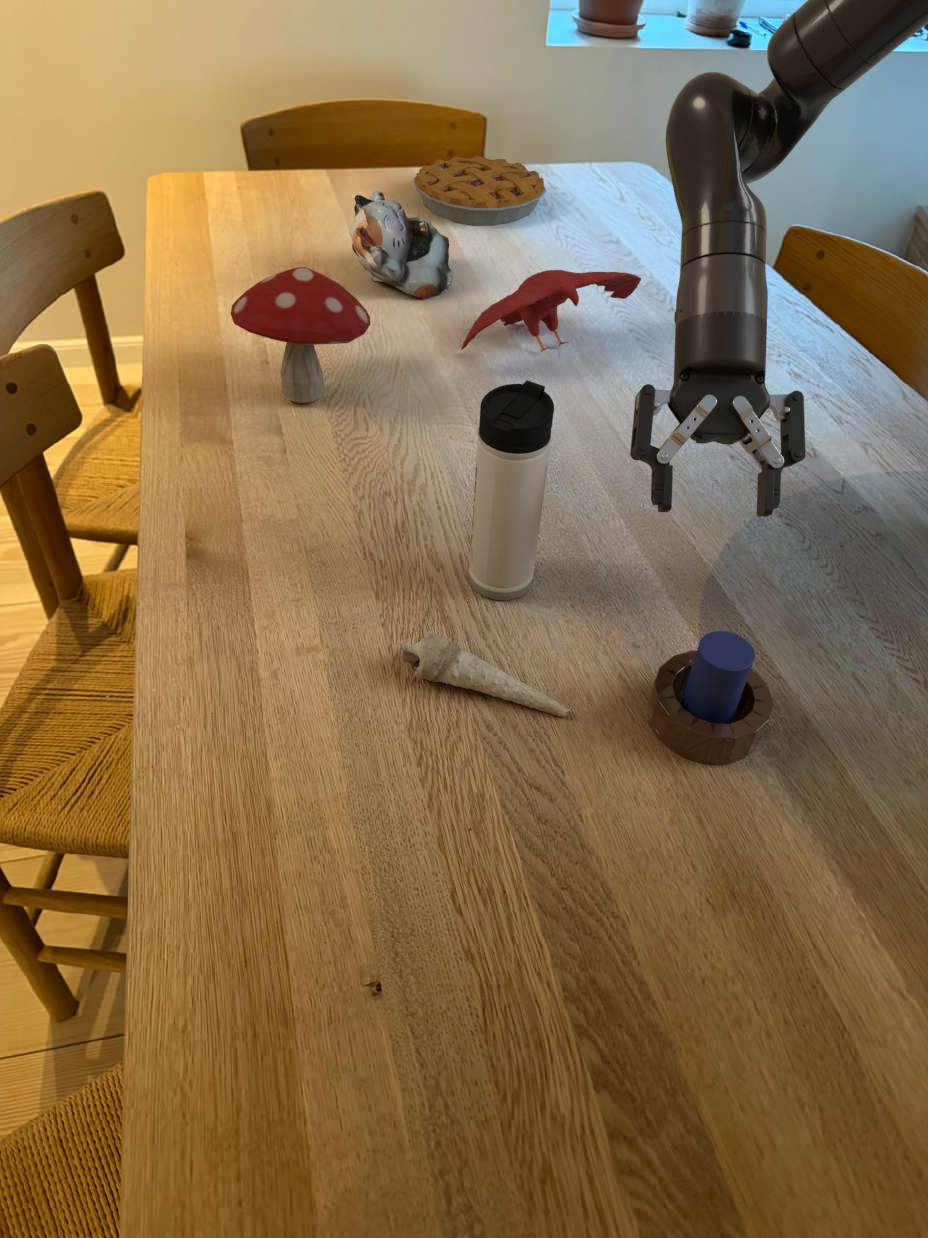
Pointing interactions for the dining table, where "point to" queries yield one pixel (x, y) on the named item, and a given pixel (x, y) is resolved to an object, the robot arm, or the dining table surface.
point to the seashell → (471, 673)
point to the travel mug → (509, 488)
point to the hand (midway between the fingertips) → (714, 513)
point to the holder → (699, 735)
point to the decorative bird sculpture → (549, 299)
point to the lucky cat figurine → (400, 247)
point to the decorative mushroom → (301, 323)
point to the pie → (479, 190)
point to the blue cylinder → (718, 677)
